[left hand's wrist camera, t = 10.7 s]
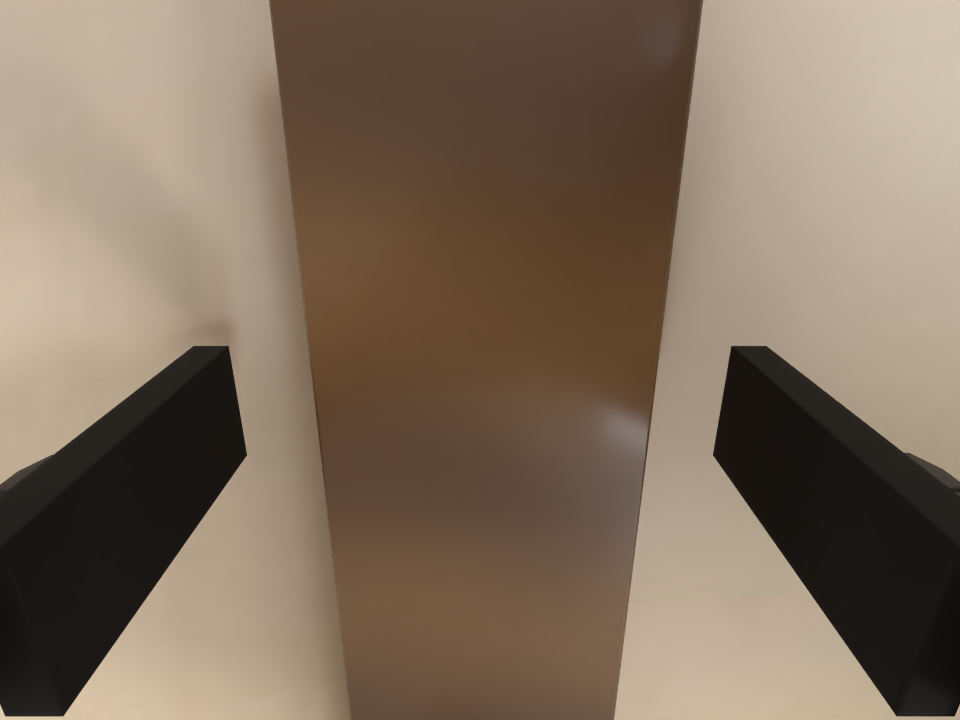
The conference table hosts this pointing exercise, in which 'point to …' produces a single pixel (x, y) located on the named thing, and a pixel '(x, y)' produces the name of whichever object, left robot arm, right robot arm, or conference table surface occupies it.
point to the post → (484, 330)
